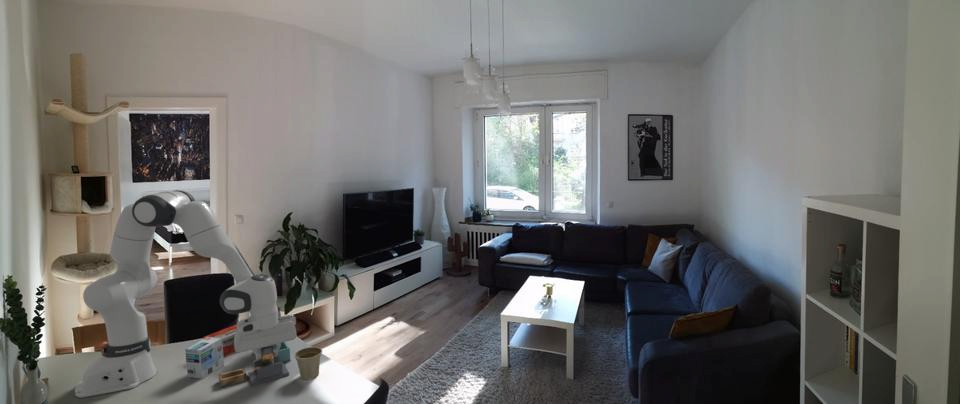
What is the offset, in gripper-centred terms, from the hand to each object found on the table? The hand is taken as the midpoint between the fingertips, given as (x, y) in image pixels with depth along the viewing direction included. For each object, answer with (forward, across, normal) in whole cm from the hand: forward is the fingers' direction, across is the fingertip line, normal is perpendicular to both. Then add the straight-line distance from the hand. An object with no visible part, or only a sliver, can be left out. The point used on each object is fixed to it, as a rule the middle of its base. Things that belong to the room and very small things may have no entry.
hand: (267, 357), depth 163 cm
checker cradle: (+7, 0, 0) cm, 7 cm away
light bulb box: (+7, +18, -17) cm, 26 cm away
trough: (+7, +11, -3) cm, 13 cm away
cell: (+3, 0, 0) cm, 3 cm away
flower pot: (+7, -12, +9) cm, 17 cm away
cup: (+7, -5, -11) cm, 14 cm away
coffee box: (+7, -5, -23) cm, 25 cm away
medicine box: (+7, +9, -32) cm, 34 cm away
